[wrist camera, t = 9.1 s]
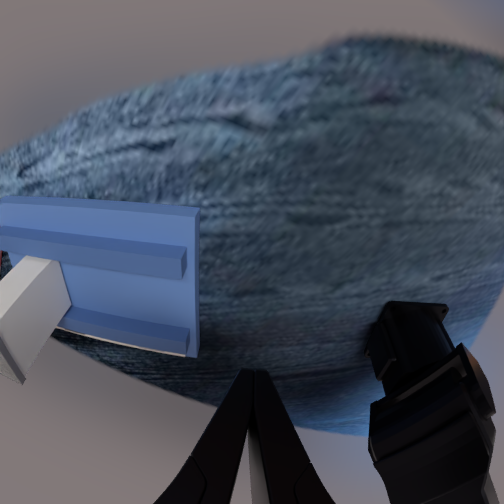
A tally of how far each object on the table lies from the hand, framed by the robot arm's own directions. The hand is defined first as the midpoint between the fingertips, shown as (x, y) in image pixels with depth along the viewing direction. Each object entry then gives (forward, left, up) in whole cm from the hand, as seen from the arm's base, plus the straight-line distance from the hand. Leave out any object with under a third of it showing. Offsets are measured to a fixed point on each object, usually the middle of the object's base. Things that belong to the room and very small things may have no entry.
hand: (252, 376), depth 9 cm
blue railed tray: (+13, +7, -12) cm, 19 cm away
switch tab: (+17, +7, -10) cm, 21 cm away
